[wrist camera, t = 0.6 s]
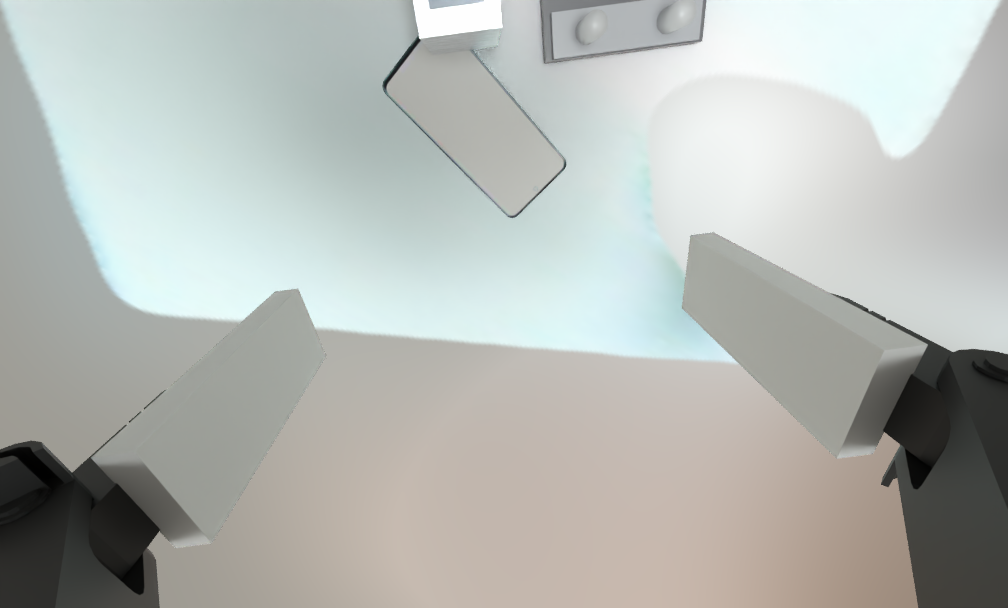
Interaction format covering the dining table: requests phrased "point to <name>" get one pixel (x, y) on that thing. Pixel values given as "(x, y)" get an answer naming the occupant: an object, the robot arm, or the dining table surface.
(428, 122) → the smartphone
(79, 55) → the dining table surface
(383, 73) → the dining table surface
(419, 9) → the block
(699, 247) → the robot arm
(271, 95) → the dining table surface
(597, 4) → the grey knobbed plate
